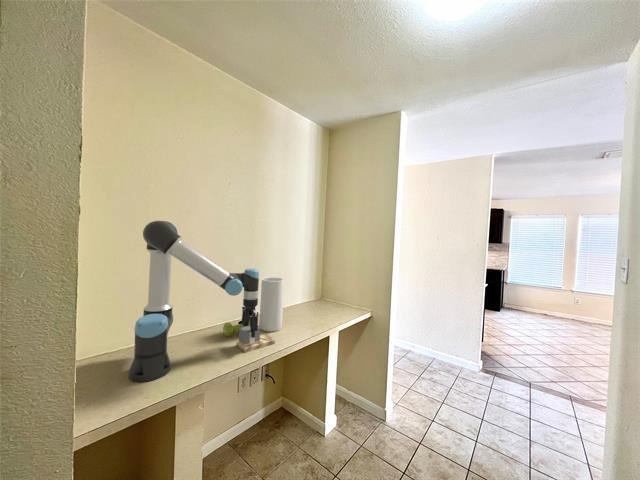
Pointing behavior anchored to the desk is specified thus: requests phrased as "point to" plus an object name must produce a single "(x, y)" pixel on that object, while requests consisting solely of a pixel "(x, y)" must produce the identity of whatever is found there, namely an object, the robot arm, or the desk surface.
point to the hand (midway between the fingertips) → (248, 340)
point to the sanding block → (247, 336)
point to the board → (264, 341)
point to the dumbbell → (231, 328)
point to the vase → (271, 304)
